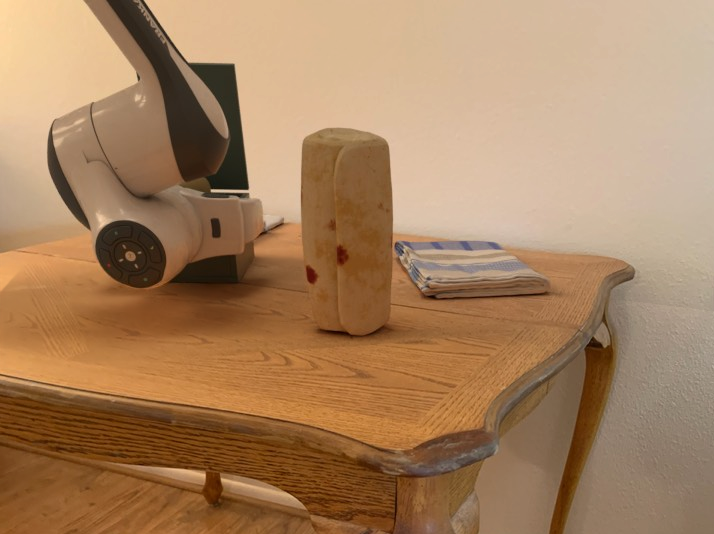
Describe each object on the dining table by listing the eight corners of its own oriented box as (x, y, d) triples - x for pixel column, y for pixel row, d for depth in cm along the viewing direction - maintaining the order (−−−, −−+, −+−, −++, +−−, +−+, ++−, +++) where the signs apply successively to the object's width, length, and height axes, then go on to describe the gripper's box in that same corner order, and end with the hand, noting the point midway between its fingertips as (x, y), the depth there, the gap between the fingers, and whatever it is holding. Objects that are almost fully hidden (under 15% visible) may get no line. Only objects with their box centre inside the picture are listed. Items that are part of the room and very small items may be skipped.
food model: (384, 317, 90) (384, 125, 79) (400, 335, 85) (403, 131, 74) (302, 323, 88) (291, 126, 77) (313, 342, 82) (303, 132, 71)
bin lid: (233, 65, 97) (239, 54, 101) (134, 62, 97) (143, 52, 101) (248, 190, 108) (253, 177, 112) (159, 188, 108) (166, 175, 112)
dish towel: (422, 300, 96) (423, 278, 95) (390, 256, 116) (390, 236, 114) (553, 296, 99) (556, 274, 98) (500, 253, 118) (502, 234, 117)
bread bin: (238, 283, 102) (231, 212, 97) (142, 281, 101) (130, 210, 96) (254, 256, 114) (249, 192, 109) (169, 255, 113) (160, 191, 109)
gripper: (85, 251, 93) (119, 228, 104) (255, 254, 93) (270, 231, 105) (74, 194, 89) (111, 177, 101) (250, 198, 90) (267, 180, 101)
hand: (193, 204), depth 103 cm, fingers closed on cork, 5 cm apart
